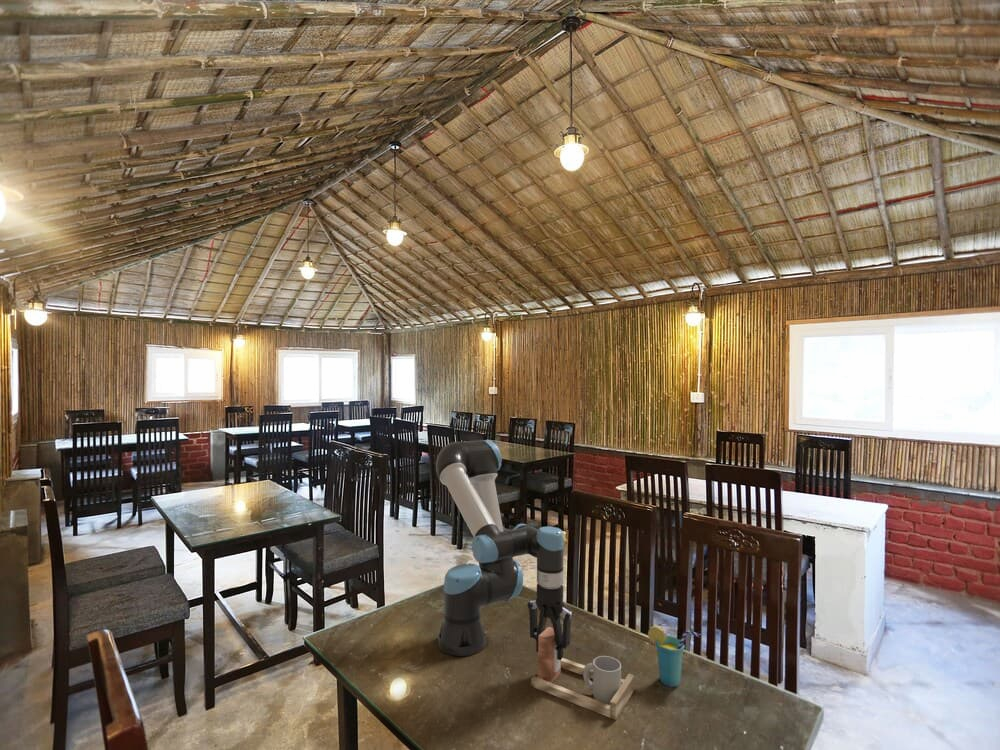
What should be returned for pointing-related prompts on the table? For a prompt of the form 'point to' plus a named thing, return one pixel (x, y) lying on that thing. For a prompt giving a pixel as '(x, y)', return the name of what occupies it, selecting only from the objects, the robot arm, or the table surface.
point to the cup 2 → (669, 655)
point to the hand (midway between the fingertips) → (549, 666)
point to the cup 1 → (603, 678)
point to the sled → (548, 675)
